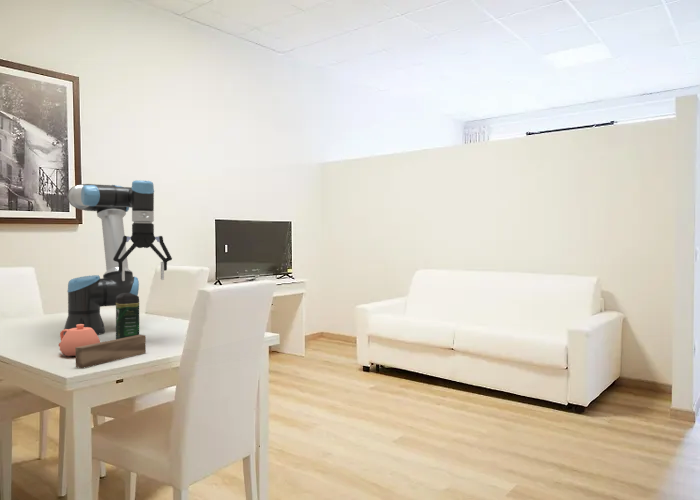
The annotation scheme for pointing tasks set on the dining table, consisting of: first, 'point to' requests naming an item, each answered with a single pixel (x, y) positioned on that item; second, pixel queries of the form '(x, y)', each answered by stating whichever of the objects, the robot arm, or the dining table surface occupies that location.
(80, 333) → the sugar bowl
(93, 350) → the board
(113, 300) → the robot arm
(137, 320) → the coffee jar
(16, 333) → the dining table surface
